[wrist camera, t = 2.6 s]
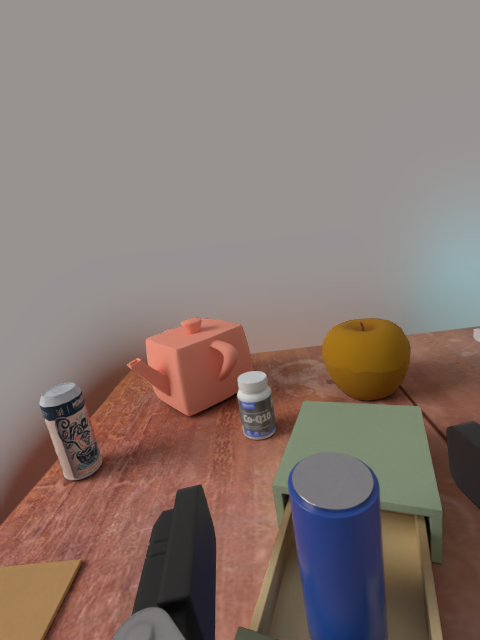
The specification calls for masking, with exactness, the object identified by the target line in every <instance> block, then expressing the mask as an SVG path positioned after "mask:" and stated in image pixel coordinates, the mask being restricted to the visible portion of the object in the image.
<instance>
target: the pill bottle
mask: <svg viewBox="0 0 480 640" xmlns="http://www.w3.org/2000/svg"><path fill="white" fill-rule="evenodd" d="M237 380H238V387H239V390H238V393H237V398H238V404H239V410H240V416H241V422H242V428H243V433H244V435H245V436H246V437H248V438H250V439H253V440H260V439H266V438H268V437H270V436H272V435H273V434H274V433H275V431H276V422H275V415H274V407H273V399H272V392H271V389H270V387H269V386H268V381H267V376H266V374H265V373H264V372H261V371H250V372H246V373H243V374H241V375H240V376H239V377H238V379H237Z"/></svg>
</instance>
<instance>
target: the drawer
mask: <svg viewBox="0 0 480 640" xmlns="http://www.w3.org/2000/svg"><path fill="white" fill-rule="evenodd" d="M381 521H382V539H383V557H384V575H385V593H386V611H387V629H388V640H443V637H442V630H441V623H440V617H439V610H438V603H437V597H436V590H435V583H434V577H433V570H432V563H431V557H430V550H429V543H428V537H427V530H426V523H425V517H424V516H422V515H416V514H409V513H403V512H397V511H391V510H384V509H381ZM235 640H310V637H309V633H308V626H307V619H306V612H305V605H304V598H303V591H302V584H301V576H300V569H299V562H298V555H297V548H296V541H295V534H294V527H293V520H292V512H291V505H290V498H288V502H287V505H286V508H285V512H284V515H283V518H282V522H281V525H280V528H279V531H278V535H277V538H276V541H275V545H274V548H273V551H272V555H271V558H270V561H269V564H268V568H267V571H266V574H265V578H264V581H263V584H262V587H261V591H260V594H259V597H258V601H257V604H256V607H255V611H254V614H253V617H252V620H251V624H250V627H249V629H246V628H243V627H238V630H237V633H236V636H235Z"/></svg>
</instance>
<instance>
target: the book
mask: <svg viewBox="0 0 480 640" xmlns="http://www.w3.org/2000/svg"><path fill="white" fill-rule="evenodd" d="M474 339H475V340H476V341H478V342H480V329H474Z"/></svg>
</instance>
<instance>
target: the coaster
mask: <svg viewBox="0 0 480 640" xmlns="http://www.w3.org/2000/svg"><path fill="white" fill-rule="evenodd" d="M81 564H82V560H81V559H78V560H68V561H58V562H47V563H37V564H26V565H16V566H6V567H0V640H44V638H45V636H46V634H47V632H48V630H49V628H50V626H51V624H52V622H53V620H54V618H55V616H56V614H57V612H58V610H59V608H60V606H61V604H62V602H63V600H64V598H65V596H66V594H67V592H68V590H69V588H70V586H71V584H72V582H73V580H74V578H75V576H76V574H77V572H78V570H79V568H80V566H81Z"/></svg>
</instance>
